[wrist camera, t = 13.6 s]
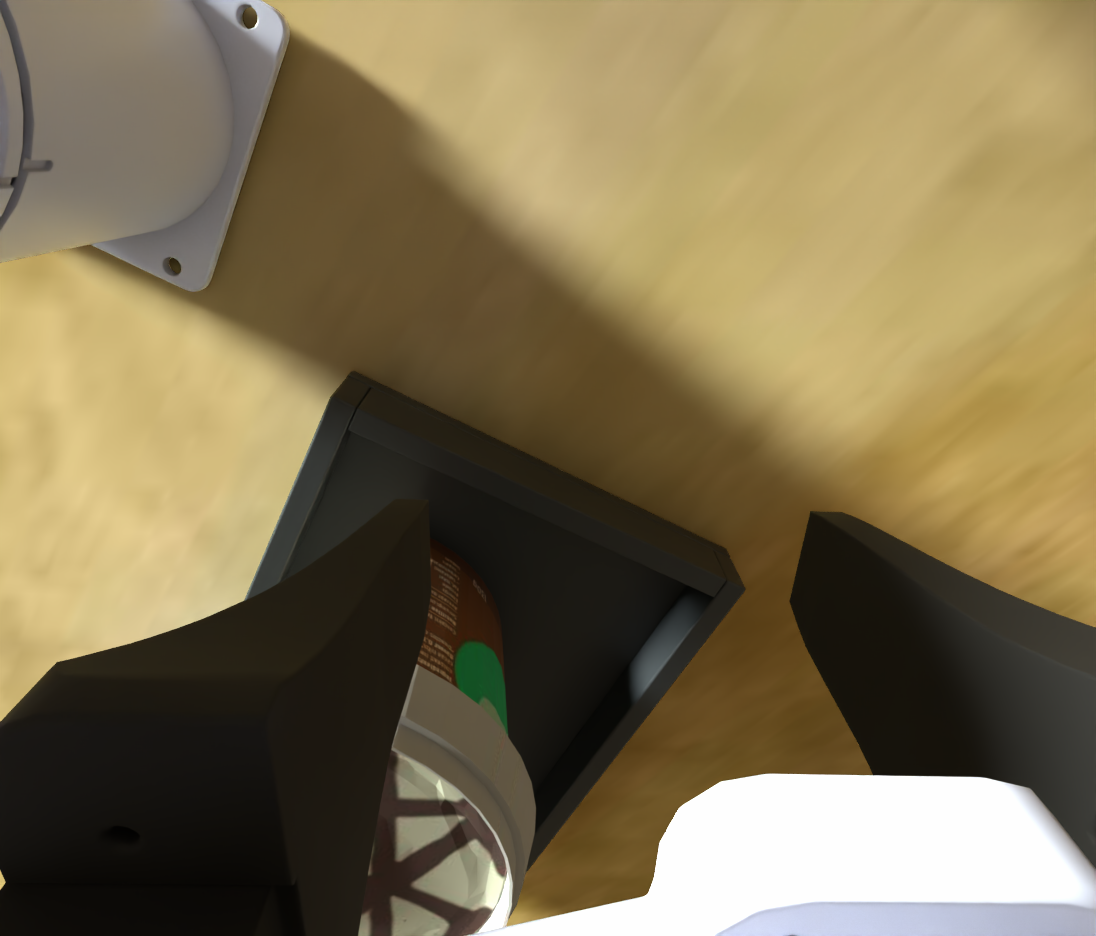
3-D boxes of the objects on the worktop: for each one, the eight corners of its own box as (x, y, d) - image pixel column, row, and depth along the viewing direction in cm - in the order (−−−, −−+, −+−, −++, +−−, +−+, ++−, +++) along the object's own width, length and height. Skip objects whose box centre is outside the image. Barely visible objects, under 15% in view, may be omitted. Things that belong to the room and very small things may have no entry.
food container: (460, 784, 29) (428, 1073, 20) (319, 741, 28) (217, 1027, 19) (591, 559, 24) (627, 800, 15) (429, 495, 23) (364, 716, 14)
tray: (195, 734, 28) (165, 786, 26) (351, 369, 22) (330, 395, 20) (510, 840, 31) (508, 896, 29) (727, 548, 25) (747, 589, 23)
